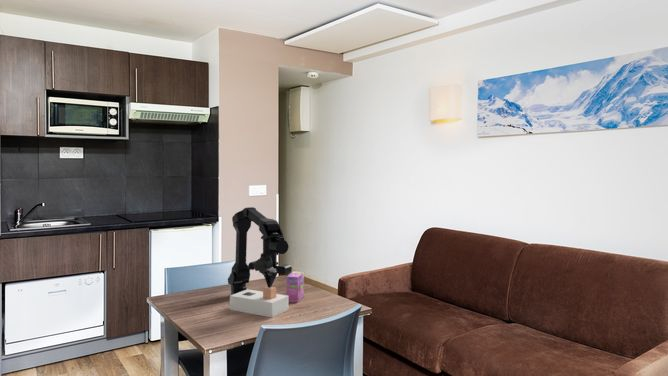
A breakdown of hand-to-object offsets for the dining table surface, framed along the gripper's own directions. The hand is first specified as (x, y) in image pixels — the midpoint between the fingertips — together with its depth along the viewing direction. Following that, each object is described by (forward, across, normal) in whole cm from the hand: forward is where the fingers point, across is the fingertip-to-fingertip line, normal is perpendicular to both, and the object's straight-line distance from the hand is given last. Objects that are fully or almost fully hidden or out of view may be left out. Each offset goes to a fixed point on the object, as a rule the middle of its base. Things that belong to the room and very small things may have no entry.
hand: (269, 287), depth 192 cm
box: (+10, 0, +21) cm, 23 cm away
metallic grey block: (+10, -11, 0) cm, 15 cm away
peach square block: (+6, 0, 0) cm, 6 cm away
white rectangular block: (+10, -5, 0) cm, 12 cm away
